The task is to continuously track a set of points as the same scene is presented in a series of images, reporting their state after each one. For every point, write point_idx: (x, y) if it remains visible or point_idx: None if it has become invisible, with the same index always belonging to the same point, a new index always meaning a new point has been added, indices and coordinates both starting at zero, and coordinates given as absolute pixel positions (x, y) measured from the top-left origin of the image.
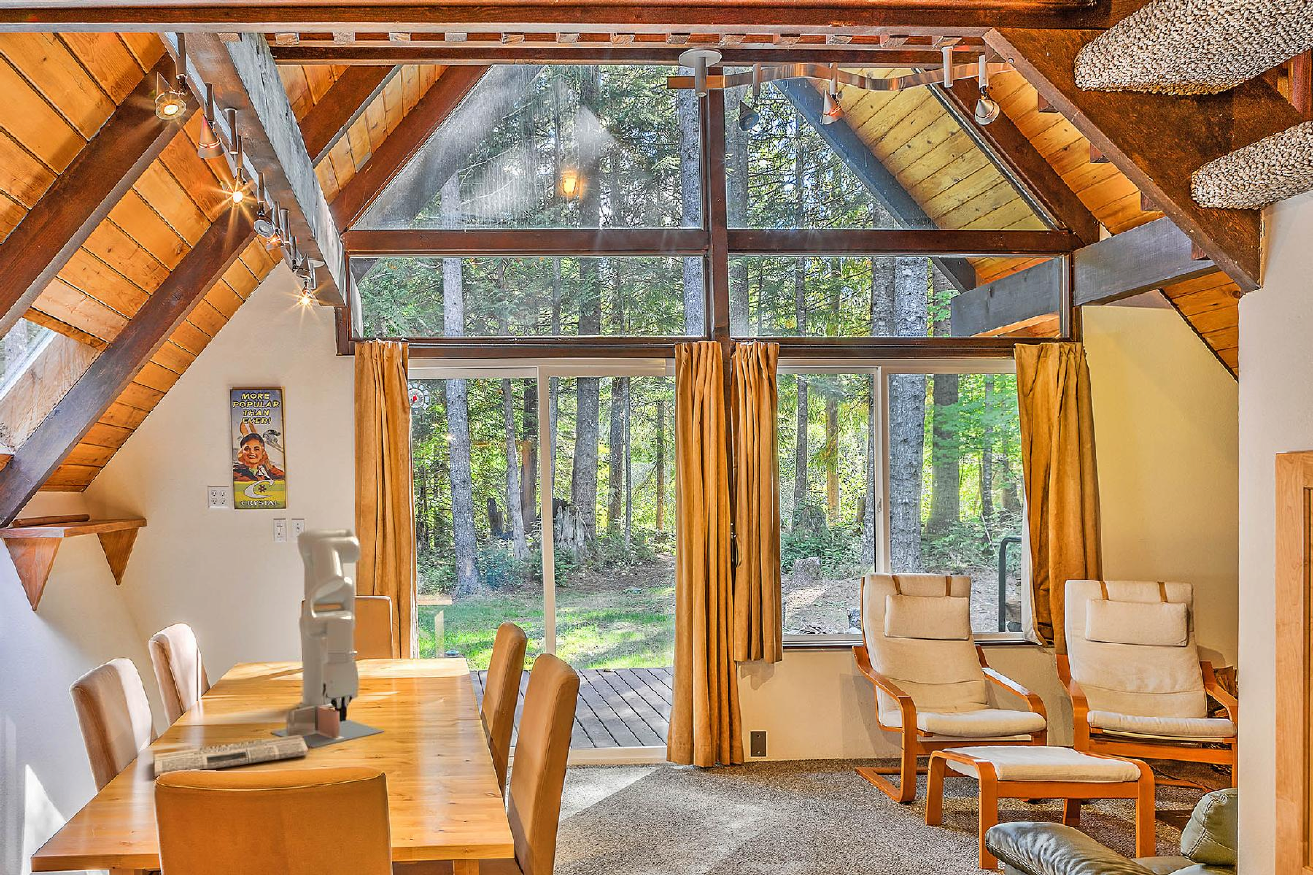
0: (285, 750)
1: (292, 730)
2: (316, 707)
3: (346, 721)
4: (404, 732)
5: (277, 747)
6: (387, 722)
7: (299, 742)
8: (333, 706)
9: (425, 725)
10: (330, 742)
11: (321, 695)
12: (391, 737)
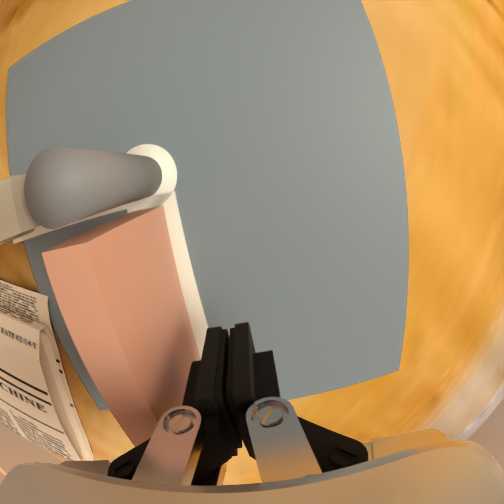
0: (42, 447)
1: (8, 241)
2: (36, 217)
3: (359, 57)
4: (424, 395)
5: (18, 424)
6: (480, 218)
7: (58, 438)
8: (167, 417)
9: (495, 343)
10: None
11: (15, 473)
12: (365, 429)
